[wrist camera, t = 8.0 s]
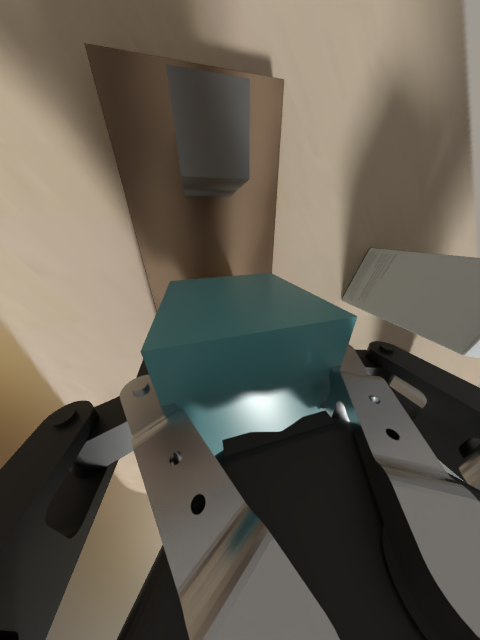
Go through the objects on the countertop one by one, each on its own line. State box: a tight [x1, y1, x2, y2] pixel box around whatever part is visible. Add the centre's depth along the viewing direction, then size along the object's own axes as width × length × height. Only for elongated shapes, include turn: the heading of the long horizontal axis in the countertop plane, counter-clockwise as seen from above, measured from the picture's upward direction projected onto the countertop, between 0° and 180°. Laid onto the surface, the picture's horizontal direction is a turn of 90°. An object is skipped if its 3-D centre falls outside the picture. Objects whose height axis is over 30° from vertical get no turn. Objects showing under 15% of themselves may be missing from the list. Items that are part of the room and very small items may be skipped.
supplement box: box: [342, 248, 480, 358], centre depth 19 cm, size 7×7×13 cm
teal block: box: [141, 273, 357, 456], centre depth 9 cm, size 6×6×7 cm
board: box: [84, 43, 284, 311], centre depth 14 cm, size 12×20×7 cm, turn 1°
